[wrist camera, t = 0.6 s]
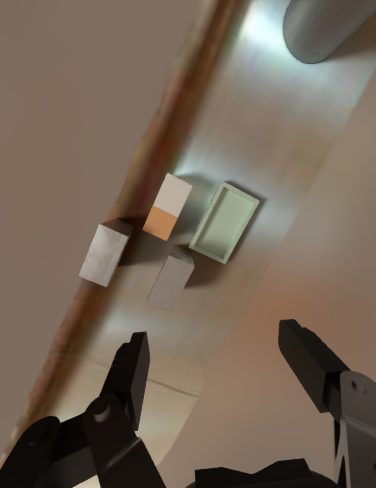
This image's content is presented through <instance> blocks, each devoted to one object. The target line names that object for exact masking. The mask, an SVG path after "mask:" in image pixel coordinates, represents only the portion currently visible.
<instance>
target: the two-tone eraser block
mask: <svg viewBox="0 0 376 488" xmlns="http://www.w3.org/2000/svg"><path fill="white" fill-rule="evenodd" d="M192 187H193V186H192V185H190V184H188V183H186V182H184V181H182V180H180V179H178V178H177V177H175V176H173V175H171V174H169V173H167V175H166V178H165V180H164V182H163V184H162V186H161V189H160V191H159V193H158V195H157V198H156V200H155V202H154V204H153V207H152V209H151V211H150V213H149V216H148V218H147V220H146V222H145V225H144V227H143V229H142V230H144V231H146V232H148V233H150V234H152V235H154V236H157V237H159V238H161V239H163V240H165V241H167V239H168V237H169V235H170V233H171V231H172V229H173V227H174V225H175V223H176V220H177V218H178V216H179V214H180V212H181V210H182V208H183V206H184V204H185V202H186V199H187V197H188V195H189V193H190V191H191V189H192Z"/></svg>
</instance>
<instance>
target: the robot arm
mask: <svg viewBox="0 0 376 488" xmlns="http://www.w3.org/2000/svg"><path fill="white" fill-rule="evenodd" d="M375 13H376V0H291V2H290V4H289V6H288V8H287V10H286V13H285V16H284V22H283V36H284V40H285V44H286V46H287V48H288V50H289V51H290V53H291V54H292V55H293V56H294V57H295V58H296V59H297V60H299V61H301V62H304V63H317V62H320V61H322V60H324V59H326V58H327V57H329V56H330V55H331V54H332V53H333V52H334V51H335V50H336V49H337V48H338V47H339V46H341V45H342V44H343V43H344V42H345V41H346V40H347V39H348V38H349V37H350V36H351V35H353V34H354V33H355V32H356V31H357V30H358V29H359V28H360V27H361V26H362V25H363V24H364V23H365V22H367V21H368V20H369V19H370V18H371V17H372V16H373V15H374V14H375ZM278 344H279V349H280V351H281V353H282V355H283V356H284V358H285V359H286V361H287V363H288V364H289V366H290V367H291V369H292V370H293V372H294V373H295V375H296V376H297V378H298V380H299V381H300V383H301V384H302V386H303V387H304V389H305V390H306V392H307V394H308V395H309V397H310V398H311V400H312V401H313V402H314V404H315V406H316V407H317V409H318V411H319V412H320V413H325V412H330V413H331V415H332V416H333V464H334V465H333V481H332V480H331V479H329V478H327V477H325V476H324V475H321V474H319V473H316V472H314V471H311V470H310V469H309V468H308V465H307V463H306V461H305V459H304V458H302V459H292V460H284V461H277V462H275V463H273V464H272V465H269V466H268V467H266V468H264V469H262V470H261V471H258V472H257V473H254V474H248V473H244V472H240V471H236V470H232V469H228V468H223V467H219V468H209V469H200V470H195V482H193V483H191V484H190V485H188V486H187V487H186V488H376V383H375V382H374V381H373V380H372V379H370V378H369V377H367V376H365V375H363V374H361V373H359V372H355V371H351V370H350V369H349V368H348V367H347V366H346V365H345V364H344V363H343V362H342V361H341V360H340V359H339V358H338V356H336V355H335V354H334V352H333V351H332V350H331V349H330V348H328V347H327V345H326V344H325V343H324V342H322V341H321V339H320V338H319V337H318V336H317V335H316V334H315V333H314V332H312V331H310V330H309V329H307V328H305V327H303V328H302V327H301V326H300V325H299V324H298V323H297V321H296V320H294V319H288V320H281V321H280V322H279V336H278ZM149 363H150V352H149V345H148V338H147V333H146V332H135V333H133V334H132V337H131V340H130V343H123V344H122V346H121V347H120V348H119V349H118V350H117V352H116V355H115V357H114V360H113V362H112V365H111V368H110V370H109V373H108V375H107V378H106V380H105V383H104V385H103V388H102V390H101V393H100V395H99V397H97V398H96V399H95V400H93V401H92V402H91V403H90V404H89V406H88V407H87V409H86V410H85V412H84V413H82V414H80V415H78V416H76V417H73V418H71V419H69V420H66V421H64V422H61V423H60V421H59V419H58V418H57V417H55V416H48V417H44V418H42V419H40V420H38V421H36V422H35V423H34V424H32V425H31V426H30V427H29V428H28V429H27V430H26V431H25V432H24V433H23V434H22V435H21V437H20V438H19V440H18V441H17V443H16V445H15V446H14V448H13V450H12V451H11V453H10V455H9V456H8V458H7V459H6V461H5V463H4V464H3V466H2V468H1V469H0V488H73V487H74V486H76V485H78V484H80V483H82V482H84V481H86V480H88V479H89V478H91V477H93V476H95V475H97V476H98V479H99V483H100V487H101V488H166V486H165V484H164V482H163V480H162V478H161V476H160V474H159V472H158V470H157V468H156V466H155V464H154V462H153V460H152V458H151V456H150V454H149V452H148V450H147V448H146V446H145V444H144V442H143V441H142V439H141V438H140V437H139V438H138V437H137V436H136V434H135V432H134V431H138V427H139V421H140V416H141V410H142V404H143V398H144V393H145V387H146V381H147V376H148V370H149Z"/></svg>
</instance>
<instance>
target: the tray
mask: <svg viewBox="0 0 376 488" xmlns="http://www.w3.org/2000/svg"><path fill="white" fill-rule="evenodd" d="M259 202H260V201H259V200H257V199H255V198H253V197H251V196H250V195H248V194H246V193H244V192H242V191H240V190H238V189H237V188H235V187H233V186H231V185H229V184H227V183H225V182H224V181H221V182H220V183H219V185H218V187H217V189H216V191H215V193H214V195H213V197H212V199H211V201H210V203H209V205H208V207H207V209H206V211H205V213H204V215H203V217H202V219H201V221H200V223H199V225H198V227H197V229H196V231H195V233H194V235H193V237H192V239H191V241H190V243H189V245H188V246H189V248H191V249H193V250H195V251H197V252H199V253H201V254H204V255H206V256H208V257H210V258H212V259H214V260H217V261H219V262H221V263H223V264H226V262H227V260H228V258H229V256H230V254H231V253H232V251H233V249H234V247H235V245H236V244H237V242H238V240H239V238H240V236H241V234H242V233H243V231H244V229H245V227H246V225H247V224H248V222H249V220H250V218H251V216H252V215H253V213H254V211H255V209H256V207H257V205H258V204H259Z"/></svg>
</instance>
